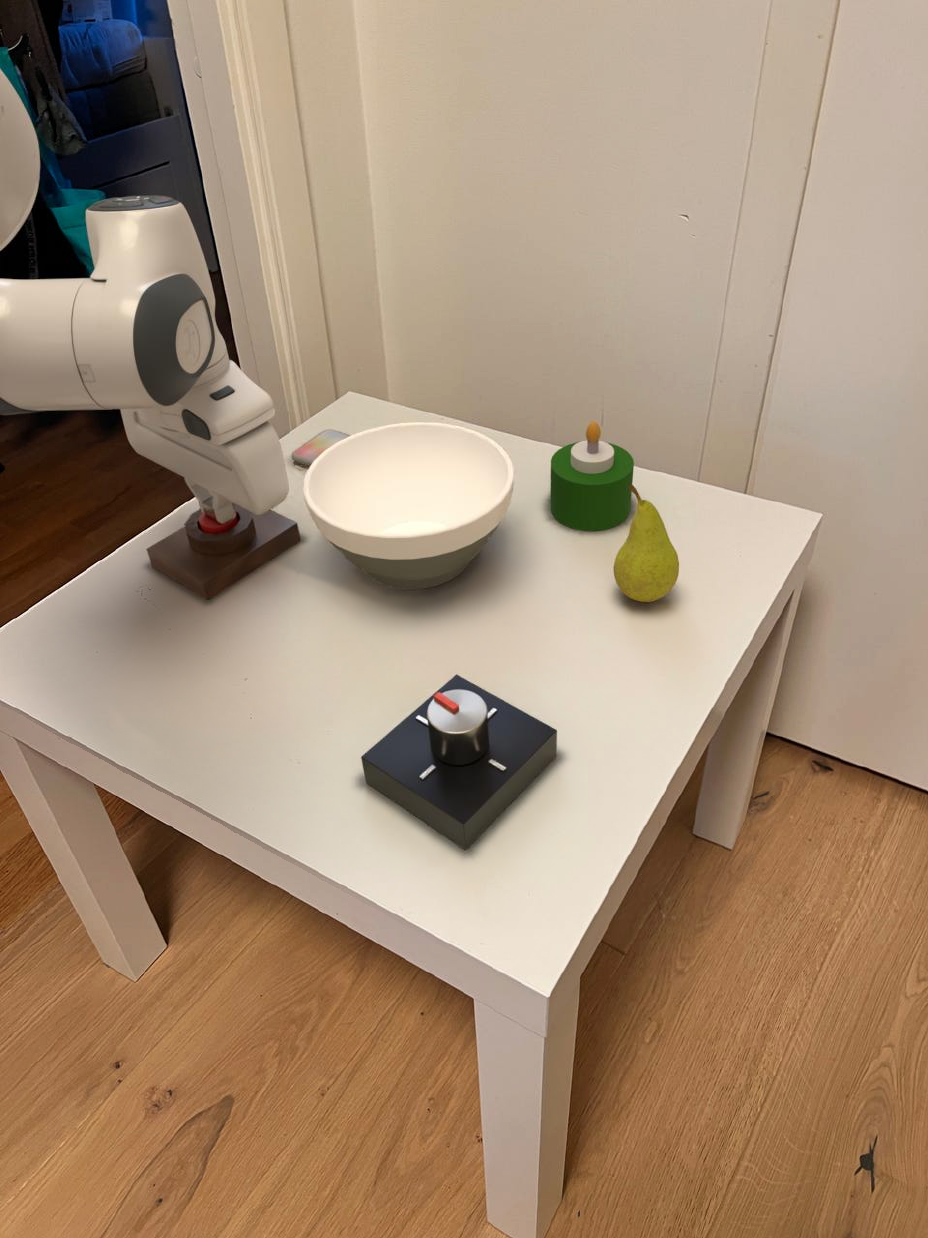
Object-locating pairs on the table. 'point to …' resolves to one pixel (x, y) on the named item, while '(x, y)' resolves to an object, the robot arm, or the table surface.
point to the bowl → (410, 500)
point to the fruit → (646, 556)
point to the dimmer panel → (460, 767)
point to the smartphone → (317, 446)
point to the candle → (591, 483)
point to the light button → (216, 524)
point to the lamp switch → (222, 550)
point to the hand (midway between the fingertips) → (218, 516)
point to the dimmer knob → (458, 726)
